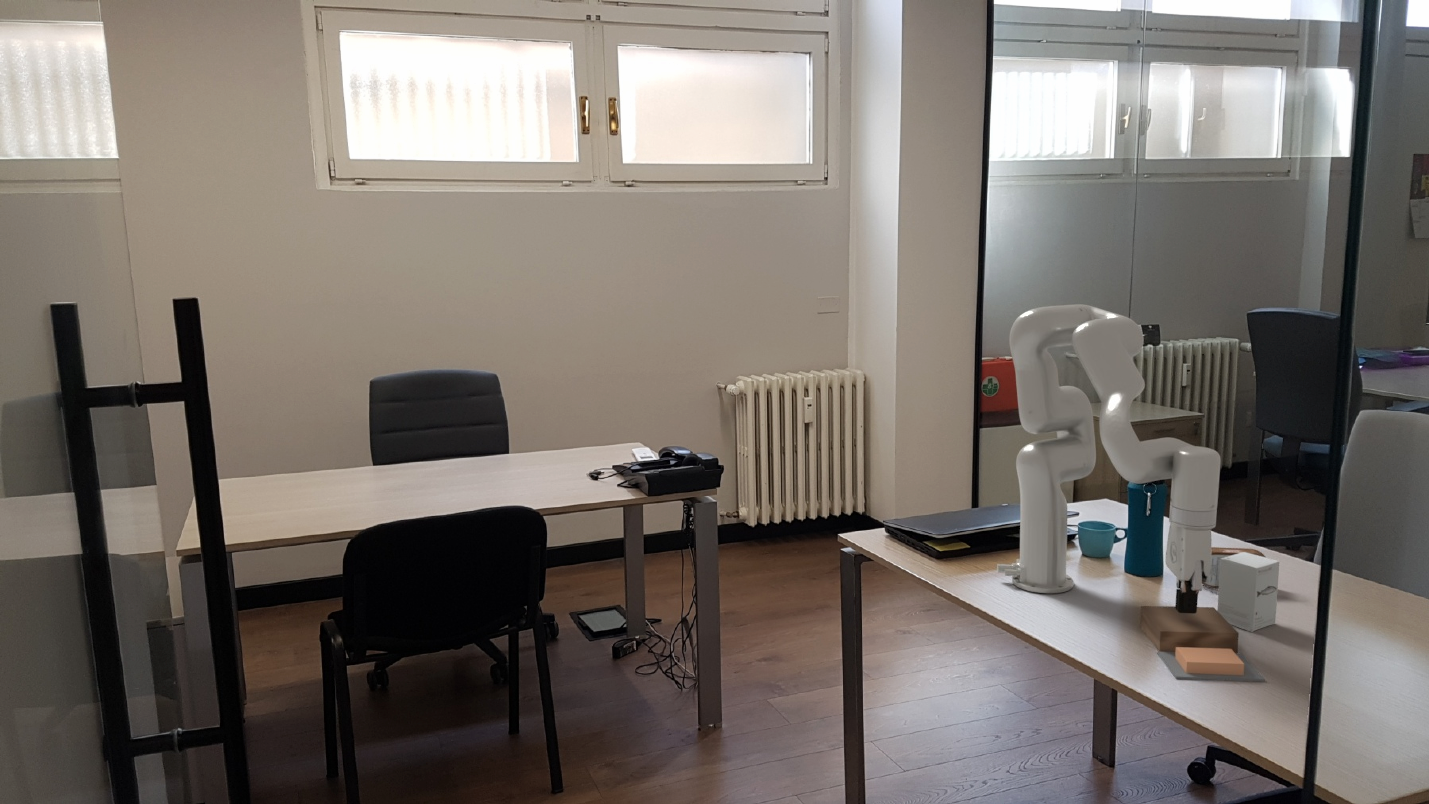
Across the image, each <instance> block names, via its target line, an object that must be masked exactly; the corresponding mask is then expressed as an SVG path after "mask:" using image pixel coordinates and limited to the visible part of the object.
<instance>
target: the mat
mask: <svg viewBox="0 0 1429 804" xmlns="http://www.w3.org/2000/svg"><path fill="white" fill-rule="evenodd" d="M1175 653H1176V652H1162V651H1158V650H1157V655H1158V656H1159V658H1160V659H1161V661H1162V662H1163V663H1164V664H1165V666H1166V667H1167V669H1168V671H1169V672H1170V673H1171V675H1172V676H1173V678H1174V679H1175V680H1199V681H1200V680H1207V681H1208V680H1209V681H1235V682H1236V681H1237V682H1265V683H1266V678H1265V677H1264V676H1263V675H1262V674H1261V673H1260V672H1259V671H1258V669H1256V667H1255V666H1254V665H1253V664H1252V663H1251V662H1250V661H1249V660H1248V658H1247V657H1245V655H1244V654H1242V653H1237V654H1236V653H1235V654H1236V655H1237V656H1238V657H1239V658H1240V660H1241V661H1242V662H1243V663H1244V675H1228V674H1200V673H1186V672H1185V671H1184V669H1183V668H1182V666H1181V665H1180V664H1179V662H1178V661H1177V659H1176V658H1175Z"/></svg>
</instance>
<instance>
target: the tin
mask: <svg viewBox="0 0 1429 804" xmlns="http://www.w3.org/2000/svg"><path fill="white" fill-rule="evenodd" d="M1242 552H1246V553H1250V554H1254V555H1258V556H1262V557H1265V558H1267V557H1266V555H1265V554H1264V553H1262V551H1260V550H1258V549H1254V548H1244V547H1242V548H1241V547H1219V546H1218V547H1216V546H1211V570H1210V577H1209V580H1208V581H1207V582H1203V581H1202V585H1203V586H1205V587H1208V588H1214V589H1219V576H1220V560H1221V558H1224V557H1228V556H1231V555H1235V554H1238V553H1242Z"/></svg>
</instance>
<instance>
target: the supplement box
mask: <svg viewBox="0 0 1429 804" xmlns="http://www.w3.org/2000/svg"><path fill="white" fill-rule="evenodd" d="M1265 557H1266V556H1265ZM1265 557H1262V556H1258V555H1254V554H1250V553H1246V552H1242V553H1238V554H1235V555H1231V556H1228V557H1224V558H1221V560H1220V576H1219V588H1218V596H1217V609H1216V610H1217V611H1218V612H1219V613H1220V614H1221V615H1222V616H1223V618H1224V619H1225V620H1226V621H1227V622H1228V623H1229V624H1230V625H1231V626H1232V627H1235V628H1239V629H1242V630H1244V631H1248V632H1251V633H1253V632H1254V631H1257V630H1260V629H1263V628H1265V627H1269V626H1271V625H1275V624H1276V616H1277V602H1278V590H1279V589H1278V588H1279V573H1280V572H1279V571H1280V561H1279V560H1275V559H1272V558H1268V557H1266V558H1265Z"/></svg>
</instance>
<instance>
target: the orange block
mask: <svg viewBox="0 0 1429 804" xmlns="http://www.w3.org/2000/svg"><path fill="white" fill-rule="evenodd" d="M1175 658H1176V659H1177V661H1178V662H1179V664H1180V665H1181V666H1182V668H1183V669H1184V671H1185V672H1186V673H1200V674H1228V675H1244V663H1243V662H1242V661H1241V660H1240V658H1239V657H1238V656H1237V655H1236V654H1235V653H1234V652H1233V650H1232V649H1221V648H1190V647H1176V653H1175Z"/></svg>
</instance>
